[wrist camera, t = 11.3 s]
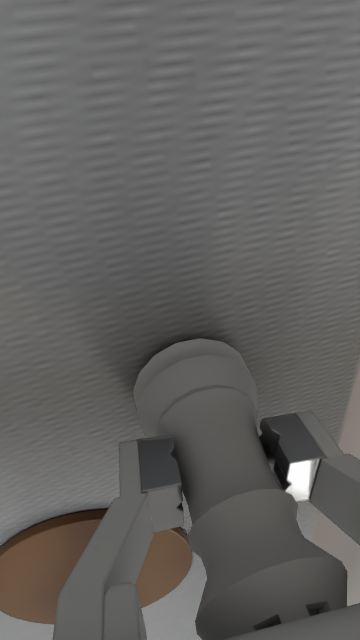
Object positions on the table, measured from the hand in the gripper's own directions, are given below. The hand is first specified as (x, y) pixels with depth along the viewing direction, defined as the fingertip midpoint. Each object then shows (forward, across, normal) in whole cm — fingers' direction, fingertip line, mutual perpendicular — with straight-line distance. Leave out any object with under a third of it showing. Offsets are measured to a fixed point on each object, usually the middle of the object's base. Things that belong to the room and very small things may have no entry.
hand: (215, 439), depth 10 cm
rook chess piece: (+3, 0, 0) cm, 3 cm away
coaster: (+3, +6, +13) cm, 15 cm away
